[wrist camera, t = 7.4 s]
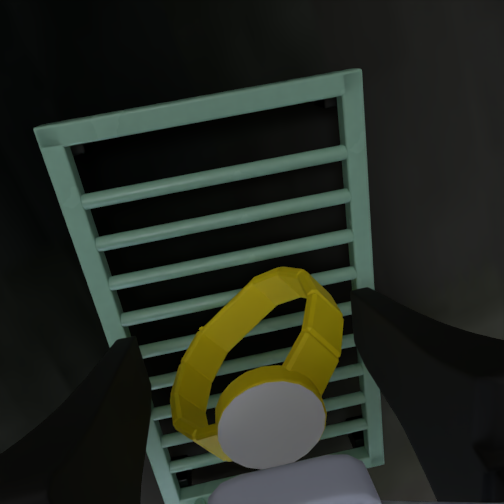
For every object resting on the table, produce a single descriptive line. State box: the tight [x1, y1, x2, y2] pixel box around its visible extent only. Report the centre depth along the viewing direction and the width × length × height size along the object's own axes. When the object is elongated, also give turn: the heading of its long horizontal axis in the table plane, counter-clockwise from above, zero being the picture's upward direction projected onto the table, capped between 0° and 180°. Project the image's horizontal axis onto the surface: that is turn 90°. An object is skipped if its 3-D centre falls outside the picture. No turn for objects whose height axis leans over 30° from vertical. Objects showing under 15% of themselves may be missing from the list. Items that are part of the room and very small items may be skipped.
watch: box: [170, 267, 344, 470], centre depth 14 cm, size 6×3×6 cm, turn 133°
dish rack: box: [34, 68, 384, 504], centre depth 16 cm, size 10×17×6 cm, turn 9°
